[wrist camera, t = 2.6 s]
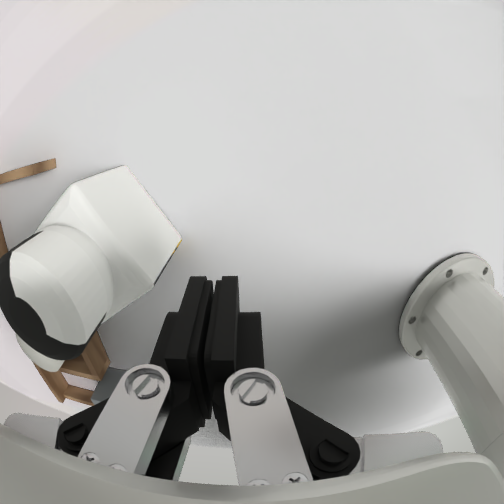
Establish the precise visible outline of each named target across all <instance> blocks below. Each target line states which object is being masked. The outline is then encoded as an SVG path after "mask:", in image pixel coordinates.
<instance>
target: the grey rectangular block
mask: <svg viewBox="0 0 504 504" xmlns="http://www.w3.org/2000/svg"><path fill="white" fill-rule="evenodd" d="M126 372H127V371H126V370H120V369H114V368H107V370H106V372H105V374H104V376H103V378H102V380H101V381H99V382H98V384H97V386H96V388H95V390H94V393H93V395H92V397H91V400H92V402H93V403H94V405H96V404H98V403H100V402H102V401H104V400H105V399H107V398H109V397H111V395H112V393H113V391H114V390H115V388H116V386H117V385H118V383H119V381H120V379H121V378H122V376H123V375H124V374H125V373H126Z"/></svg>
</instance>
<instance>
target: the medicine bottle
mask: <svg viewBox="0 0 504 504" xmlns="http://www.w3.org/2000/svg"><path fill="white" fill-rule="evenodd" d="M181 241H182V237H181V235H180V234H179V233H178V231H177V230H176V229H175V228H174V226H173V225H172V224H171V222H170V221H169V220H168V219H167V217H166V216H165V215H164V214H163V212H162V211H161V210H160V208H159V207H158V206H157V204H156V203H155V202H154V201H153V199H152V198H151V197H150V195H149V194H148V193H147V191H146V190H145V189H144V187H143V186H142V185H141V183H140V182H139V181H138V179H137V178H136V177H135V175H134V174H133V173H132V171H131V170H130V169H129V167H128V166H126V165H123V166H120V167H117V168H114V169H111V170H108V171H105V172H102V173H99V174H96V175H93V176H91V177H88V178H85V179H83V180H80V181H77V182H75V183H72V184H71V185H70V186H69V187H68V188H67V189H66V191H65V192H64V193H63V194H62V196H61V197H60V198H59V200H58V201H57V202H56V203H55V205H54V206H53V207H52V209H51V210H50V212H49V213H48V214H47V216H46V217H45V218H44V220H43V221H42V223H41V224H40V226H39V227H38V229H37V230H36V232H35V233H34V235H32V236H31V237H29V238H27V239H26V240H24V241H23V242H21V243H20V244H18V245H17V246H16V247H14V248H13V249H11V250H10V251H8V252H7V253H5V254H4V255H3V256H2V257H1V258H0V307H1V310H2V312H3V314H4V316H5V317H6V319H7V321H8V323H9V324H10V326H11V327H12V329H13V330H14V331H15V332H16V334H17V335H18V336H19V337H20V338H21V339H22V340H23V341H24V342H25V343H26V344H28V345H29V346H30V347H31V348H33V349H34V350H36V351H37V352H39V353H40V354H42V355H44V356H46V357H48V358H51V359H55V360H72V359H75V358H77V357H79V356H80V355H81V354H82V353H83V351H84V349H85V348H86V346H87V345H88V343H89V342H90V340H91V338H92V337H93V335H94V334H95V332H96V331H97V329H98V328H99V326H100V325H101V324H102V323H104V322H105V321H107V320H108V319H109V318H111V317H112V316H114V315H115V314H116V313H118V312H119V311H121V310H122V309H124V308H125V307H126V306H128V305H129V304H131V303H132V302H134V301H135V300H137V299H138V298H139V297H141V296H142V295H144V294H145V293H147V292H148V291H150V290H151V289H152V288H153V287H154V285H155V284H156V282H157V280H158V279H159V277H160V275H161V273H162V272H163V270H164V268H165V267H166V265H167V263H168V262H169V260H170V259H171V257H172V255H173V254H174V252H175V250H176V249H177V247H178V246H179V244H180V242H181Z"/></svg>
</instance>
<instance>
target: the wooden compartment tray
mask: <svg viewBox="0 0 504 504" xmlns="http://www.w3.org/2000/svg"><path fill="white" fill-rule="evenodd" d="M53 168H56V160H55V158H54V159H51V160H47V161H43V162H39V163H36V164H32V165H29V166H25V167H22V168H19V169H15V170H12V171H9V172H6V173H3V174H0V184H2V183H6V182H9V181H13V180H16V179H20V178H24V177H27V176H31V175H35V174H38V173H41V172H44V171H47V170H50V169H53ZM7 252H8V249H7V246H6V242H5V238H4V234H3V230H2V226H1V222H0V258H1V257H2V256H3V255H4V254H5V253H7ZM32 362H33V361H32ZM33 363H34V362H33ZM109 364H110V360H109V358H108V356H107V354H106V351H105V349H104V347H103V344H102V342H101V339H100V337H99V335H98V332H97V331H96V332H95V334H94V335H93V337H92V338H91V340H90V342H89V343H88V345H87V346H86V348H85V349H84V351H83V353H82V354H81V355H80V356H79V357H77V358H75V359H72V360H65V361H64V362H63V364H62V365H61V367H60V369H59V370H58V371H57V372H50V371H47V370H44V369H42V368H41V367H39V366H38V365H36V364H35V363H34V365H35V367H36V368H37V370H38V372H39V373H40V375H41V376H42V378H43V379H44V381H45V382H46V384H47V385H48V387H49V388H50V390H51V391H52V393H53V394H54V395H55V397H56V398H57V400H58V401H59V402H62V403H63V402H64V400H65V398H67V399H71V400H74V401H77V402H80V403H84V404H87V405H91V406H94V403H93V402H92V400H91V397H92V395H93V393H94V391H90V390H86V389H82V388H79V387H75V386H71V385H68V383H67V381H66V380H65V378H64V377H63V375H62V373H61V372H65V373H68V374H72V375H76V376H80V377H84V378H88V379H92V380H97V381H101V380H102V378H103V376H104V374H105V372H106V370H107V368H108V366H109ZM60 371H61V372H60Z"/></svg>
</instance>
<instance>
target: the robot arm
mask: <svg viewBox="0 0 504 504" xmlns="http://www.w3.org/2000/svg"><path fill="white" fill-rule="evenodd" d="M399 337H400V341H401V344H402V345H403V347H404V349H405V351H406V352H407V353H408V354H409V355H410V356H412V357H413V358H417V359H428V360H429V362H430V363H431V365H432V367H433V368H434V370H435V372H436V374H437V375H438V377H439V379H440V381H441V383H442V384H443V386H444V388H445V390H446V392H447V394H448V395H449V397H450V399H451V401H452V403H453V405H454V407H455V409H456V411H457V413H458V415H459V417H460V419H461V421H462V423H463V425H464V427H465V429H466V431H467V433H468V436H469V438H470V440H471V442H472V445H473V447H474V449H475V452H476V453H469V452H451V453H443V448H442V444H441V441H440V440H439V438H438V437H437V436H436V435H434V434H432V433H430V432H423V431H421V432H411V433H398V434H375V435H364V436H363V437H352V436H351V435H349V434H348V433H346V432H344V431H342V430H340V429H339V428H337V427H335V426H333V425H332V424H330V423H328V422H326V421H324V420H323V419H321V418H319V417H318V416H316V415H314V414H313V413H311V412H309V411H308V410H306V409H304V408H303V407H301V406H299V405H298V404H296V403H295V402H293V401H291V400H290V399H288V398H287V397H285V394H284V391H283V388H282V385H281V383H280V381H279V379H278V378H277V377H276V376H275V375H274V374H273V373H271V372H269V371H267V370H265V369H264V356H263V342H262V328H261V314H260V312H240V311H239V287H238V276H222V280H216V285H215V291H214V292H213V282H212V280H207V278H206V276H191V277H190V279H189V282H188V285H187V288H186V291H185V294H184V297H183V300H182V303H181V306H180V309H179V312H168V314H167V315H166V318H165V321H164V324H163V326H162V329H161V332H160V335H159V337H158V340H157V343H156V346H155V349H154V352H153V355H152V358H151V360H150V363H149V364H143V365H138V366H135V367H133V368H131V369H130V370H128V371H127V372H126V373H125V374H124V375H123V376H122V378H121V379H120V381H119V383H118V385H117V386H116V388H115V390H114V391H113V393H112V395H111V397H109V398H107V399H105V400H104V401H102V402H100V403H98V404H96V405H94V406H92V407H90V408H87V409H85V410H83V411H81V412H79V413H77V414H75V415H73V416H71V417H69V418H68V419H66V420H64V421H62V420H61V419H60V418H53V417H43V416H35V415H29V414H22V413H14V414H12V415H10V416H9V417H8V418H7V419H6V421H5V423H4V425H2V424H0V504H504V297H503V296H502V295H501V294H500V293H499V292H498V291H496V290H495V289H494V275H493V271H492V269H491V267H490V265H489V264H488V263H487V262H486V261H485V260H484V259H482V258H481V257H480V256H478V255H475V254H472V253H464V254H460V255H456V256H454V257H452V258H450V259H448V260H446V261H444V262H443V263H441V264H440V265H438V266H437V267H436V268H435V269H434V270H432V271H431V272H430V273H429V274H428V275H427V276H426V277H425V278H424V279H423V281H422V282H421V283H420V284H419V285H418V286H417V288H416V289H415V291H414V292H413V294H412V295H411V297H410V298H409V300H408V302H407V304H406V306H405V308H404V311H403V314H402V316H401V320H400V325H399ZM212 406H213V411H214V415H215V419H217V422H218V427H219V431H220V432H221V433H222V434H223V435H224V436H225V437H227V438H228V439H229V440H230V441H231V442H232V448H233V454H234V460H235V466H236V472H237V477H238V483H239V486H233V485H211V484H198V483H188V482H179V481H178V480H179V477H180V474H181V471H182V468H183V464H184V461H185V458H186V455H187V452H188V448H189V445H190V442H191V435H193V434H194V433H196V432H197V431H199V427H205V419H211V414H212Z"/></svg>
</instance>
